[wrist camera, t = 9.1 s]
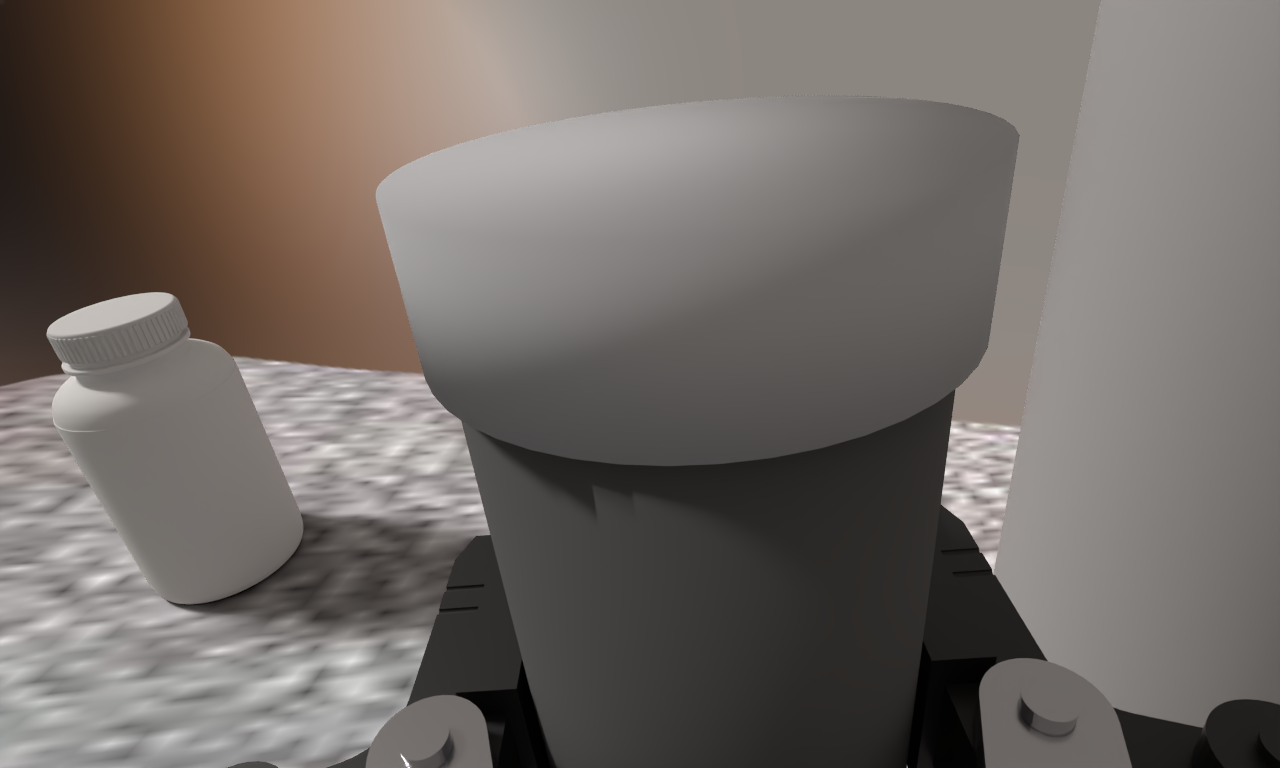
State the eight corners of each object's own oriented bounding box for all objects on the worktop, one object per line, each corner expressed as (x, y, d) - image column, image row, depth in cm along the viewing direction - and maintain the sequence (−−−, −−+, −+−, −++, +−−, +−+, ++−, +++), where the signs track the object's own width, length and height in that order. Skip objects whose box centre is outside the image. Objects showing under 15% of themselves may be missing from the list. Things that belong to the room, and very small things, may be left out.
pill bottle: (256, 497, 45) (155, 273, 38) (335, 534, 41) (239, 291, 34) (125, 578, 39) (-23, 333, 32) (202, 631, 35) (52, 364, 28)
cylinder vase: (1388, 649, 28) (1838, -119, 16) (1348, 914, 21) (2116, -128, 9) (1047, 520, 36) (1176, -53, 24) (932, 678, 29) (1035, -29, 17)
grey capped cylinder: (769, 1297, 10) (727, 303, 3) (549, 996, 13) (273, 186, 6) (935, 980, 13) (1120, 99, 6) (721, 798, 16) (669, 93, 9)
